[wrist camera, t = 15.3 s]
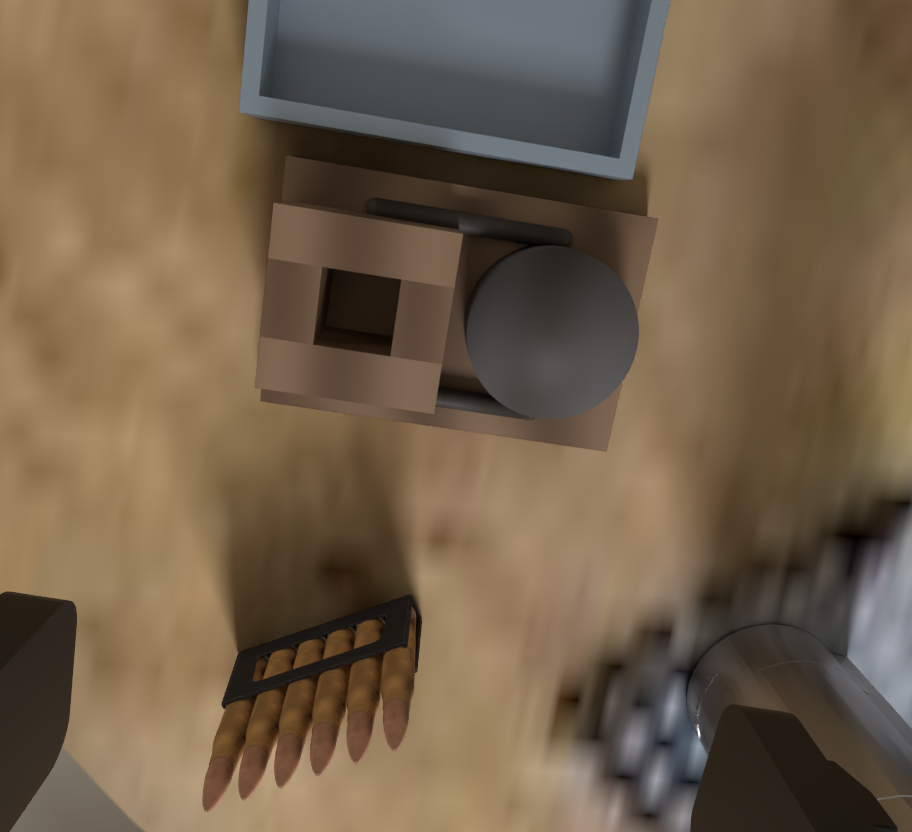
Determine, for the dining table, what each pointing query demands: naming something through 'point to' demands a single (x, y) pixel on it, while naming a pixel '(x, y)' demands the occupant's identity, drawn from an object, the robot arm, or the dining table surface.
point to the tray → (463, 75)
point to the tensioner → (449, 304)
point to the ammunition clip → (316, 696)
